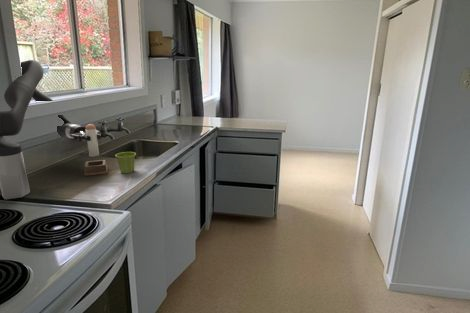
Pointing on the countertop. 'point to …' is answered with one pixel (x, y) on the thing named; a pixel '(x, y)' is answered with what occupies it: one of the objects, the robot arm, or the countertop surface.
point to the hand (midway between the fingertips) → (94, 137)
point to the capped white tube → (92, 140)
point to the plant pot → (126, 161)
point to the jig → (95, 167)
